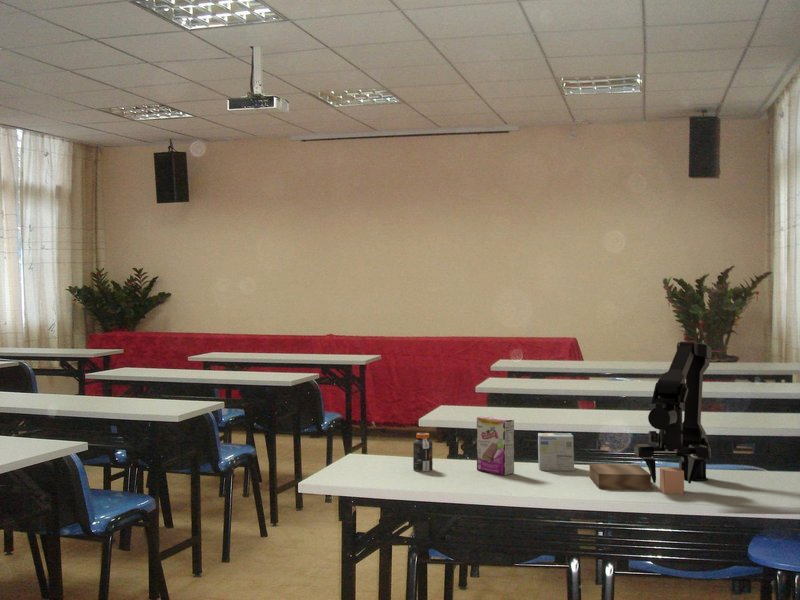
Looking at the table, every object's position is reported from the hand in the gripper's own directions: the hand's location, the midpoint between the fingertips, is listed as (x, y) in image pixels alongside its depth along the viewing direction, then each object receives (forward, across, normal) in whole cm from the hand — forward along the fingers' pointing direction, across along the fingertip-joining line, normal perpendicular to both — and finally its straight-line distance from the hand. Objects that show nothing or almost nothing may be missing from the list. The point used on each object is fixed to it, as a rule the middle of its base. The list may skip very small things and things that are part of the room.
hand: (671, 483), depth 209 cm
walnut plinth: (+2, +12, -9) cm, 15 cm away
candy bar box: (+2, +46, -23) cm, 51 cm away
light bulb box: (+2, +27, -29) cm, 40 cm away
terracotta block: (+2, 0, 0) cm, 2 cm away
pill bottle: (+2, +68, -25) cm, 72 cm away
